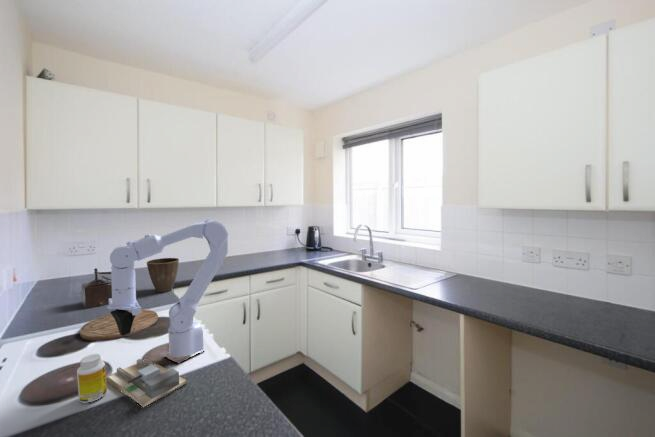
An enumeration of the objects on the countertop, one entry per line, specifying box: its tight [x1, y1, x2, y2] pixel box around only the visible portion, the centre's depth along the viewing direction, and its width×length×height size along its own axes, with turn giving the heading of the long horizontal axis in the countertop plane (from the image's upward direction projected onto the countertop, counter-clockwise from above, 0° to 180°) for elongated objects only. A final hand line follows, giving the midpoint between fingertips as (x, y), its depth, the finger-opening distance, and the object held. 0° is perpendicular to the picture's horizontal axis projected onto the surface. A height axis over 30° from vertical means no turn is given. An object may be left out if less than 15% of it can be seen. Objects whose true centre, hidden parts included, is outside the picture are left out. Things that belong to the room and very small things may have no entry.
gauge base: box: [106, 358, 187, 408], centre depth 83 cm, size 11×20×4 cm, turn 56°
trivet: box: [79, 309, 159, 342], centre depth 120 cm, size 25×25×2 cm
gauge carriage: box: [128, 364, 160, 383], centre depth 80 cm, size 7×4×3 cm, turn 146°
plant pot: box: [146, 257, 180, 293], centre depth 163 cm, size 15×15×16 cm
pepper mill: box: [81, 267, 112, 309], centre depth 145 cm, size 16×11×18 cm
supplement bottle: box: [76, 353, 108, 404], centre depth 77 cm, size 6×6×10 cm
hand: (125, 333), depth 89 cm, fingers closed
